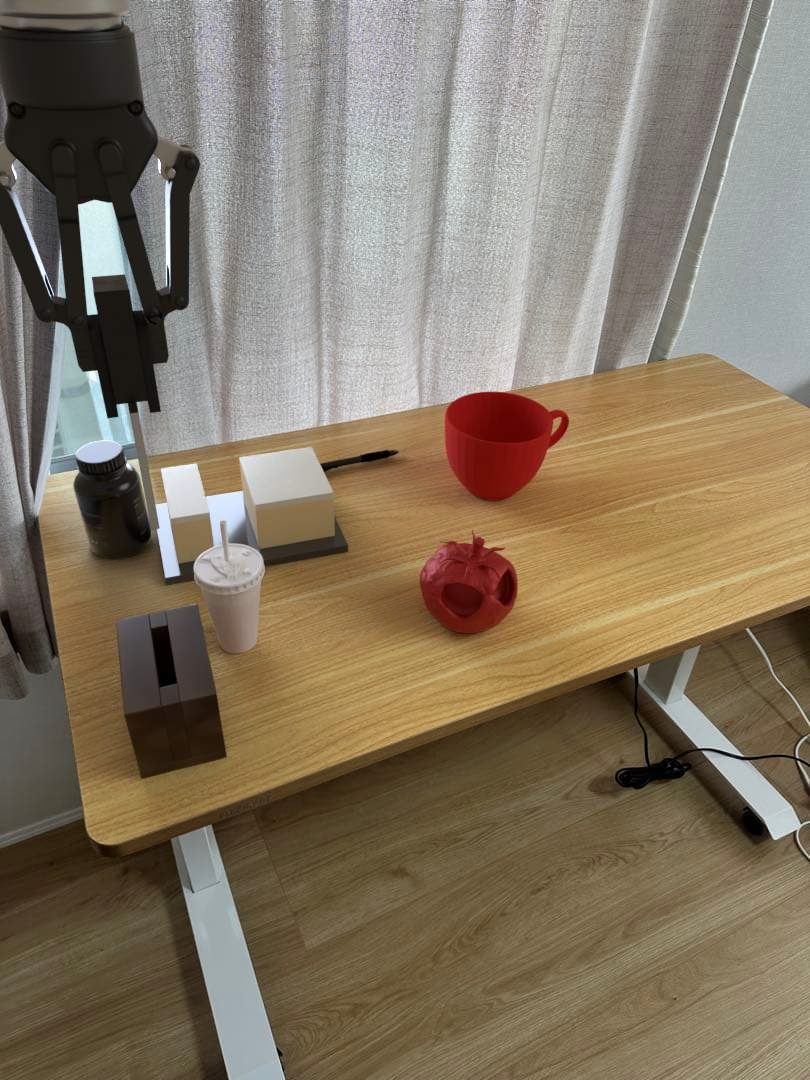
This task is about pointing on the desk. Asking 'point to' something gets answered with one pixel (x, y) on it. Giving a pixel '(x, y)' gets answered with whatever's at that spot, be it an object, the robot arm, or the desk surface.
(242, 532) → the cake board
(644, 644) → the desk surface
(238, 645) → the smoothie
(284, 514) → the cake
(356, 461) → the pen
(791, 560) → the desk surface
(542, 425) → the ceramic cup
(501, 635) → the desk surface
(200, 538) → the cream rectangular block
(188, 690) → the knife block
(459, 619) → the pomegranate
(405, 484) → the desk surface
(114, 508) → the supplement bottle
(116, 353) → the knife
